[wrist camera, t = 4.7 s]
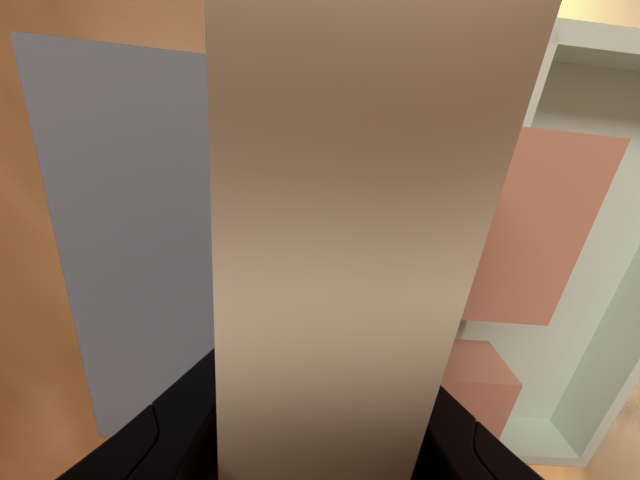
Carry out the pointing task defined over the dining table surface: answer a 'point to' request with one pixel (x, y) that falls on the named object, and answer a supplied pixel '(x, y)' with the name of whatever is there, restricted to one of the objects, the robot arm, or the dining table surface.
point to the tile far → (481, 383)
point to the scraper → (352, 215)
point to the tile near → (541, 223)
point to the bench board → (126, 208)
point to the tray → (582, 262)
